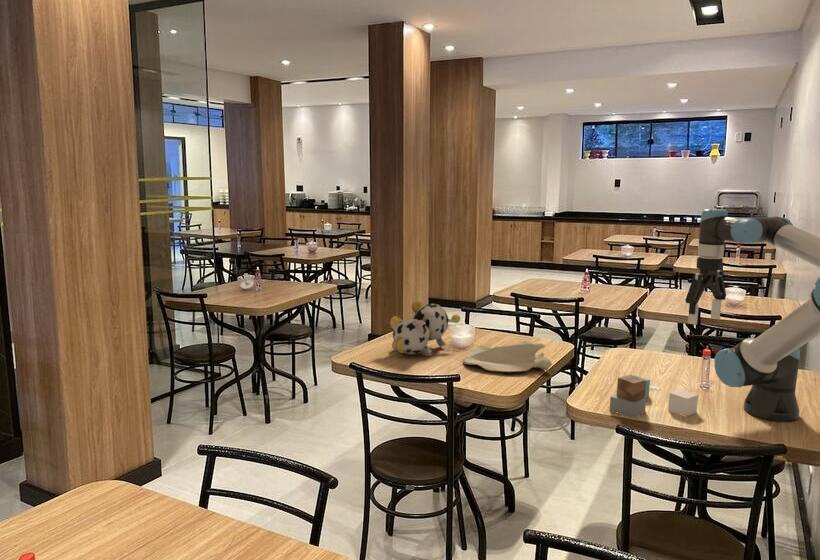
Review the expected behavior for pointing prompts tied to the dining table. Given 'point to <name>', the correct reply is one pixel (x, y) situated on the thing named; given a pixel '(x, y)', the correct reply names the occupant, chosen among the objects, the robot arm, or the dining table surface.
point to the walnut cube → (631, 388)
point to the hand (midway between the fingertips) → (703, 321)
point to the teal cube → (646, 385)
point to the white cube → (683, 402)
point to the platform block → (627, 406)
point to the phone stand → (654, 387)
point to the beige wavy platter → (509, 357)
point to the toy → (420, 329)
